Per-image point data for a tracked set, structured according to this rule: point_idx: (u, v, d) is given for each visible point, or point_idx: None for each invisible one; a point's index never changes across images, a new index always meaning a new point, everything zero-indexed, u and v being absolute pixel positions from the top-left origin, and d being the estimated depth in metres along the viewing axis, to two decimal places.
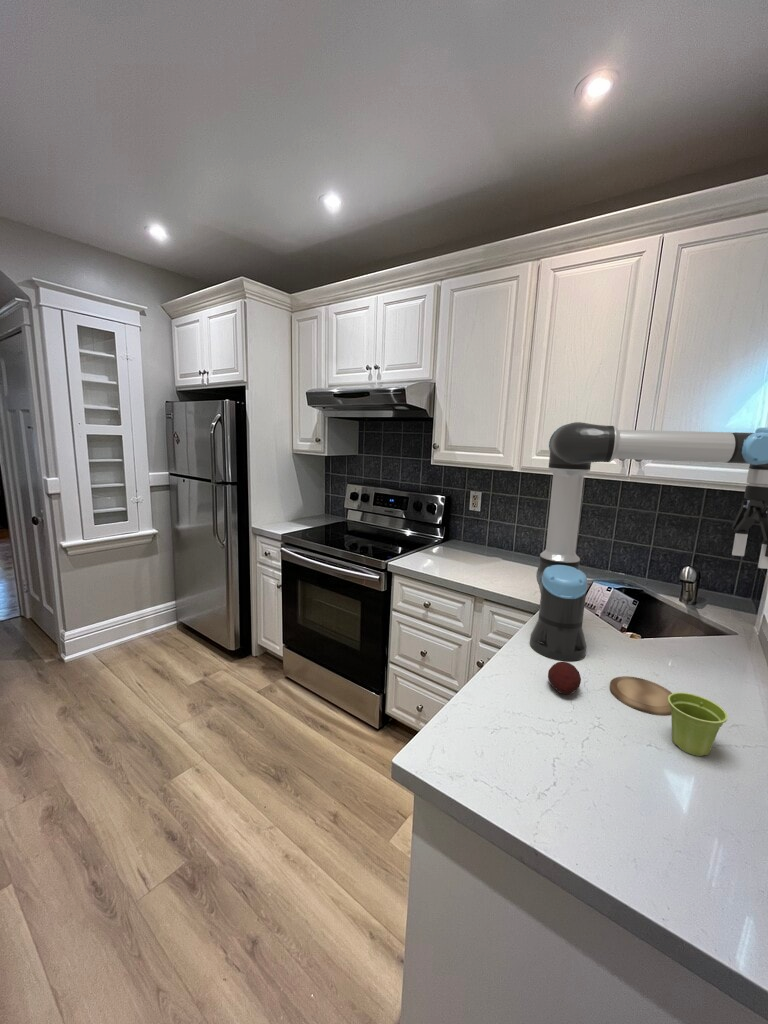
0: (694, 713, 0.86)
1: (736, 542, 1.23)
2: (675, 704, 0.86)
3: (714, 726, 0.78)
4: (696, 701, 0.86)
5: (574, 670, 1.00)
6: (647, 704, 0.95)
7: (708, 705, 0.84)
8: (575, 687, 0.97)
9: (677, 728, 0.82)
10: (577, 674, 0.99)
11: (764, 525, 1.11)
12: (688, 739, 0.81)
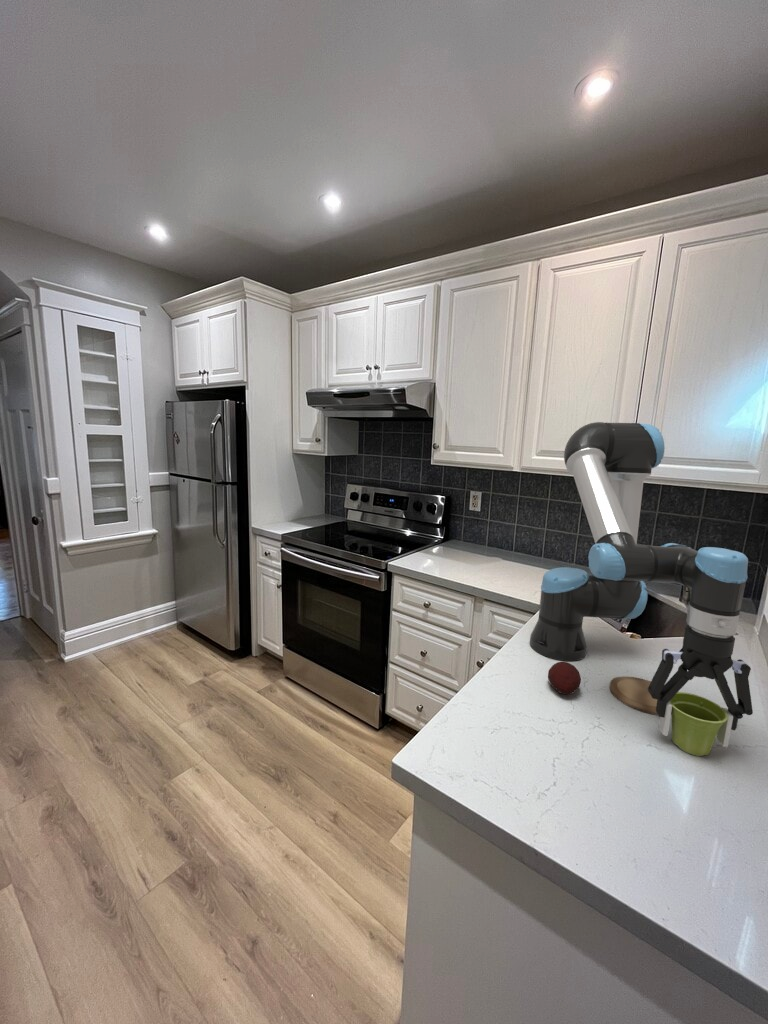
0: (694, 712, 0.86)
1: None
2: (675, 704, 0.86)
3: (714, 726, 0.78)
4: (696, 701, 0.86)
5: (574, 670, 1.00)
6: (647, 704, 0.95)
7: (709, 705, 0.84)
8: (575, 687, 0.97)
9: (677, 728, 0.82)
10: (577, 674, 0.99)
11: (672, 676, 0.83)
12: (688, 739, 0.81)
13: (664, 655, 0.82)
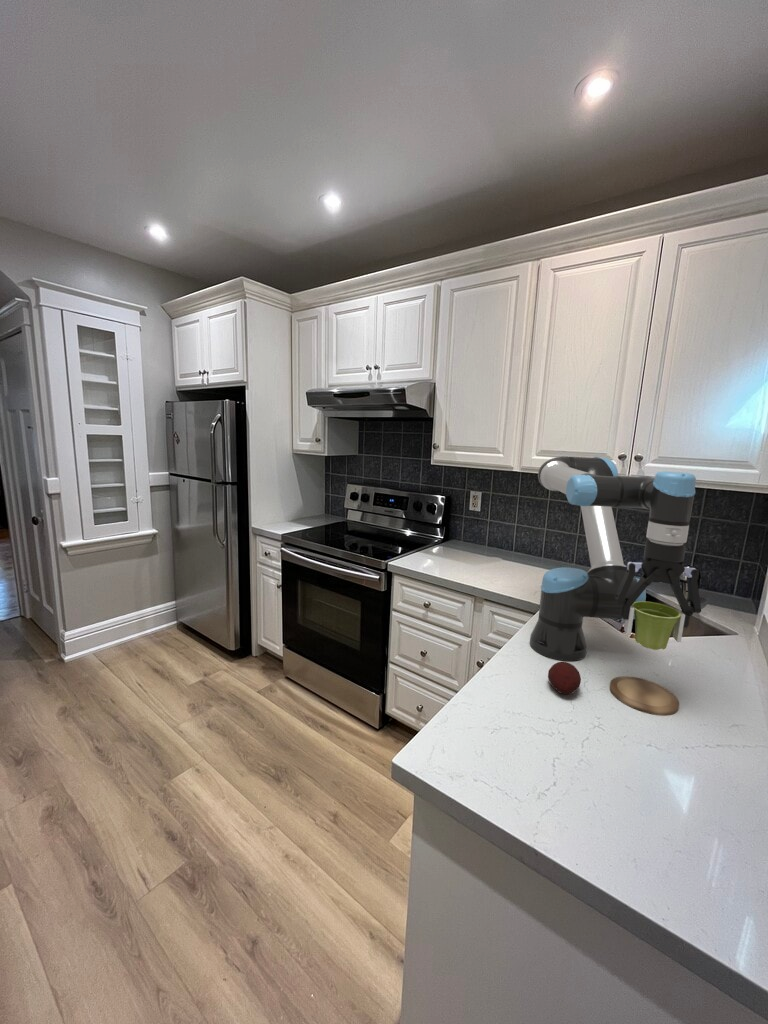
0: None
1: None
2: (638, 610, 1.00)
3: (668, 622, 0.92)
4: (656, 607, 1.00)
5: (574, 670, 1.00)
6: (647, 704, 0.95)
7: (666, 610, 0.98)
8: (575, 687, 0.97)
9: (638, 628, 0.97)
10: (577, 674, 0.99)
11: (635, 584, 0.98)
12: (648, 635, 0.95)
13: (627, 566, 0.96)
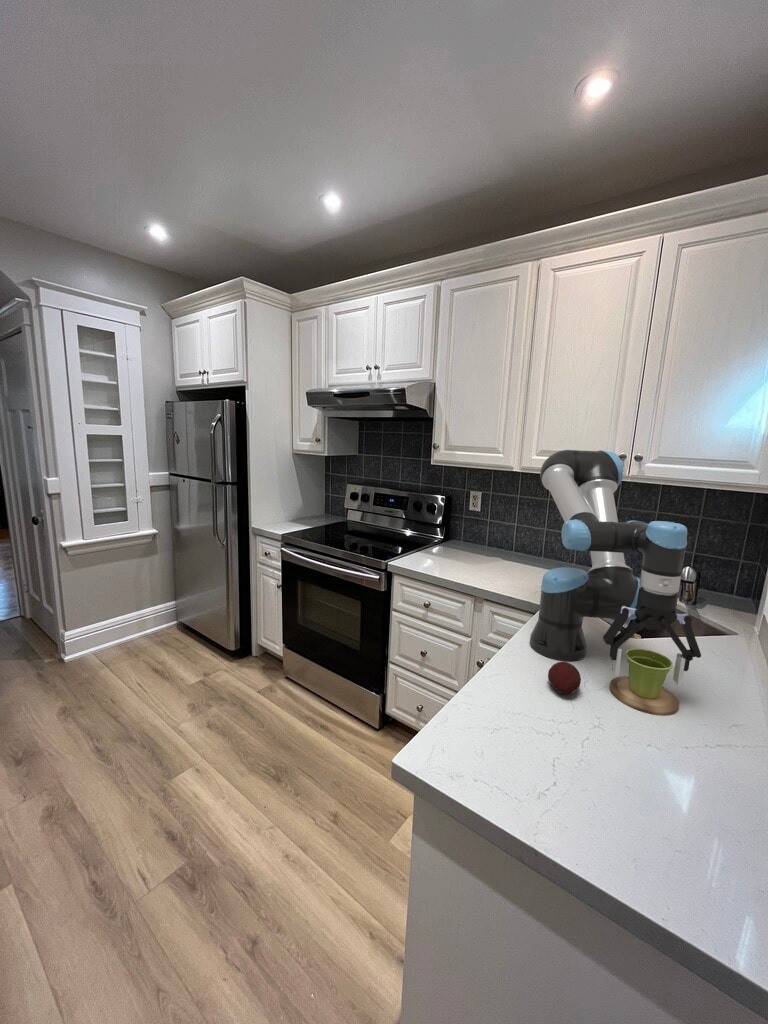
0: (648, 665, 1.02)
1: (675, 664, 0.98)
2: (632, 658, 1.02)
3: (660, 672, 0.94)
4: (650, 655, 1.02)
5: (574, 670, 1.00)
6: (647, 704, 0.95)
7: (659, 658, 1.00)
8: (575, 687, 0.97)
9: (632, 676, 0.99)
10: (577, 674, 0.99)
11: (626, 627, 0.99)
12: (641, 685, 0.97)
13: (621, 609, 0.98)
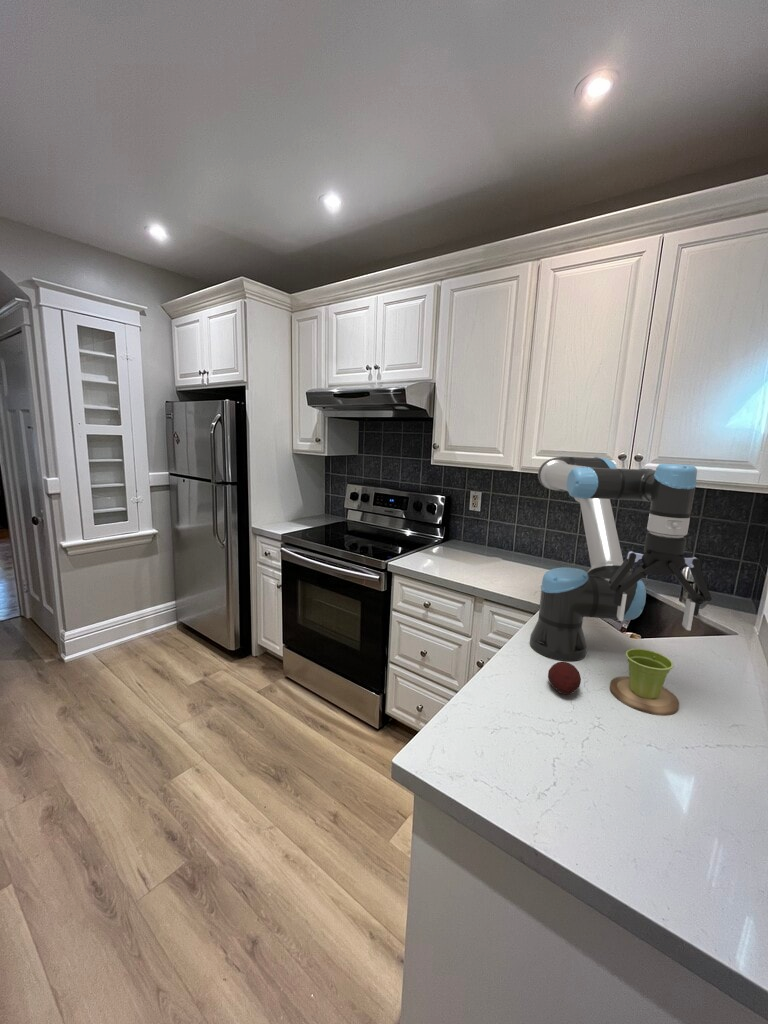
0: (648, 665, 1.02)
1: (685, 609, 0.96)
2: (632, 658, 1.02)
3: (661, 673, 0.94)
4: (650, 655, 1.02)
5: (574, 670, 1.00)
6: (647, 704, 0.95)
7: (660, 658, 1.00)
8: (575, 687, 0.97)
9: (632, 676, 0.99)
10: (577, 674, 0.99)
11: (632, 573, 0.98)
12: (641, 685, 0.97)
13: (628, 554, 0.96)
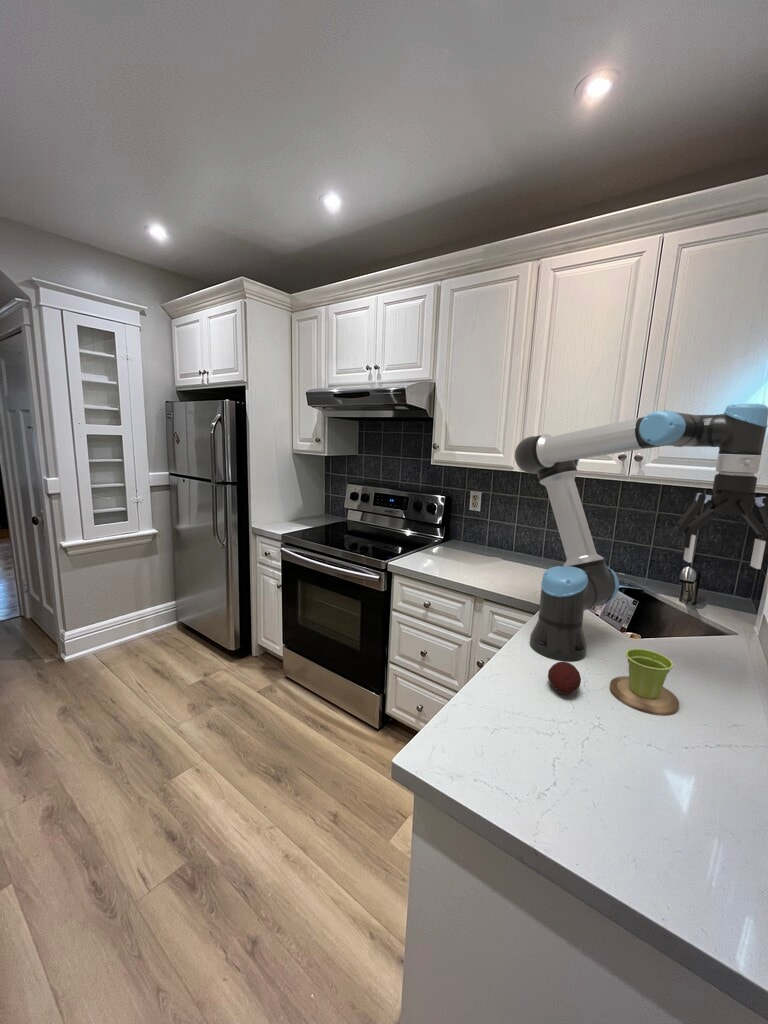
0: (648, 665, 1.02)
1: (753, 549, 0.98)
2: (632, 658, 1.02)
3: (661, 673, 0.94)
4: (650, 655, 1.02)
5: (574, 670, 1.00)
6: (647, 704, 0.95)
7: (660, 658, 1.00)
8: (575, 687, 0.97)
9: (632, 676, 0.99)
10: (577, 674, 0.99)
11: (700, 515, 1.00)
12: (641, 685, 0.97)
13: (697, 496, 0.98)
